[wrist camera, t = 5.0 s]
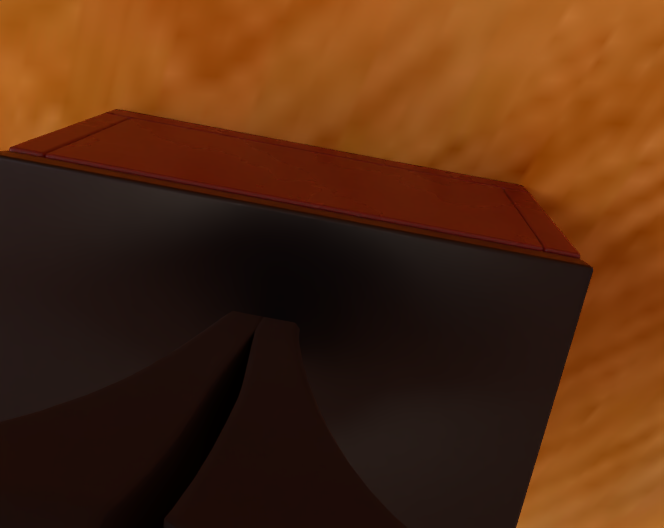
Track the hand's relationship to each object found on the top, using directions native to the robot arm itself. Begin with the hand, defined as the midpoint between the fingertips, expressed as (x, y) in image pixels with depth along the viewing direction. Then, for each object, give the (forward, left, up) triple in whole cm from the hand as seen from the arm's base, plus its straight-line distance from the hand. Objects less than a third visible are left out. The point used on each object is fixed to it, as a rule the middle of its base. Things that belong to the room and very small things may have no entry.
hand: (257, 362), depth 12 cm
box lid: (0, +3, -2) cm, 4 cm away
